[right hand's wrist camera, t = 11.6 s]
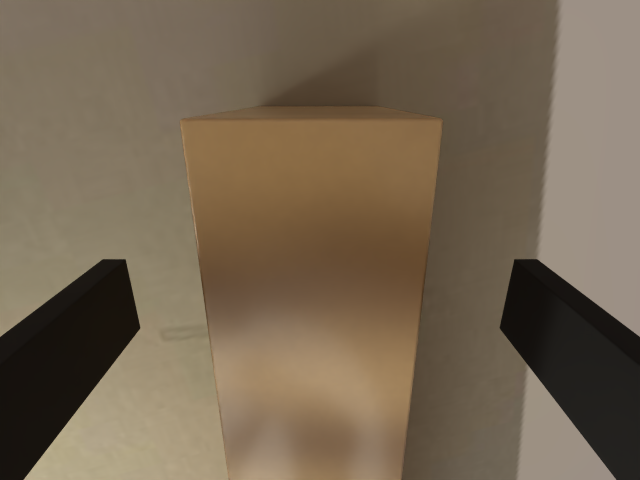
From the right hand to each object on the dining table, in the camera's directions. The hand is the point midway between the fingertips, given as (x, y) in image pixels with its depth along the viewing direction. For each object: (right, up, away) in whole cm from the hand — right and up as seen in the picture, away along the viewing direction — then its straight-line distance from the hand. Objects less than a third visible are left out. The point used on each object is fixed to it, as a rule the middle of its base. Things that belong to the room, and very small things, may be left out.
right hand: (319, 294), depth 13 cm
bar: (0, -16, +11) cm, 20 cm away
